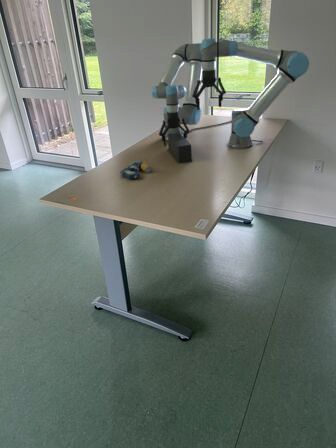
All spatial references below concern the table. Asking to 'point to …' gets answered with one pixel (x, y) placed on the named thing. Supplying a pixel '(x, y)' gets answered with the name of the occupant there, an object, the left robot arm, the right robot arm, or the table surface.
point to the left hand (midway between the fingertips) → (174, 144)
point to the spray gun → (135, 167)
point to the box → (179, 147)
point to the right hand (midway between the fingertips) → (209, 108)
